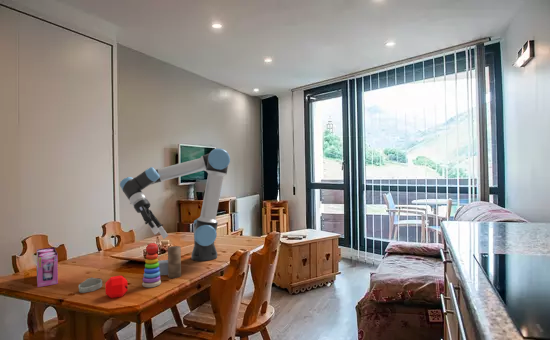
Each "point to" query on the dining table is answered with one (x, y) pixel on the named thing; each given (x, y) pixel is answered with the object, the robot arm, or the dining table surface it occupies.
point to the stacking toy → (151, 267)
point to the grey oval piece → (90, 285)
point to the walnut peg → (174, 262)
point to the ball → (116, 286)
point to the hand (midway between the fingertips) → (161, 235)
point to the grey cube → (163, 267)
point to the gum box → (47, 267)
